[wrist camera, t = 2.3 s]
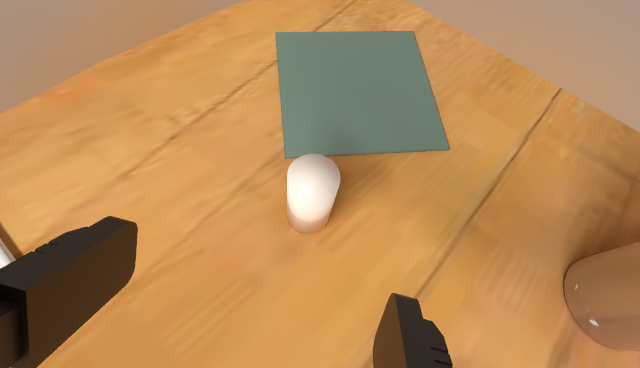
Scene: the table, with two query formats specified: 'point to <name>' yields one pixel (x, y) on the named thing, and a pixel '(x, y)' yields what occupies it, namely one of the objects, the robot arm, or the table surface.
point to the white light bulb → (311, 192)
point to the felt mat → (355, 94)
